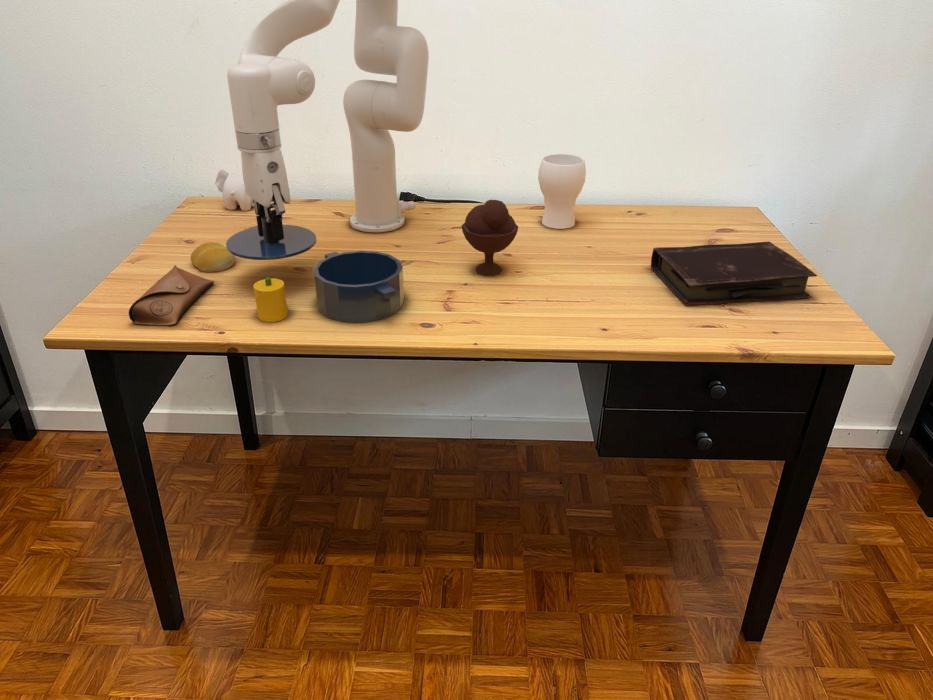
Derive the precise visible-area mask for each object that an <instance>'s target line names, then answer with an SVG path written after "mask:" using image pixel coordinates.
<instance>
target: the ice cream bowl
mask: <svg viewBox="0 0 933 700" xmlns="http://www.w3.org/2000/svg"><path fill="white" fill-rule="evenodd" d="M509 212H510V211H509V210H508V206H507V205H506V204H505V203H504V202H503V201H502V200H498V199H489V200H487V201H485V202H484V203H483V204H479V205H476V206H474V207H473V208H472V209H471V210H470V211H469V212H468V213H467V215H466V216H465V220H464V222H463V224H462V225H461V230H462V234H463V236H464V239H465V240H466V241H467V242H468V244H470V246H471V247H472V248H473V249H474V250H476V251H478V252H480V253H483V254H484V261H483V262H481V263H479V264H478V265H476V266H475V269H474V271H475V272H476V274H477V275H480V276H483V277H496V276H499V275H501V274H502V272H503V271H504V270H503V268H502V267H501V265H500V264H499V263H496V262H494V256H495V254H496V253H500V252H502V251H503V250H504V251H505V249H506V248H508V247H509V246H510V245H511V244H512V242H513V241H514V240H515V238H516V236H517V233H518V231H519V226H518V225H517V223H516V221H515V219H514V217H513V216H512V215H510V213H509Z"/></svg>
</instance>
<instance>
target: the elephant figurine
mask: <svg viewBox="0 0 933 700" xmlns="http://www.w3.org/2000/svg"><path fill="white" fill-rule="evenodd" d="M214 185H215V186H216V188H217V190H218V191H219V192H220V193H222V200H223V203H224V206H225V207H226V209H227V210H230V211H231V210H237V208H238V207H237V206H239V207H240V210H241V211H244V212H245V211H246V212H247V211H251V209H252V207H253V208H254V203H253V199H252V198H250V197H249V196H248V195H247V193H246V190H245V185H244V179H243V174H241V173H240V174H239V173H231V174H230V173H229V172H228V171H226V170H224V169H219V170H218V172H217V175H216V178H215V182H214Z"/></svg>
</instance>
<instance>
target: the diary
mask: <svg viewBox="0 0 933 700" xmlns="http://www.w3.org/2000/svg"><path fill="white" fill-rule="evenodd" d="M650 269H651V270H652V271H653V272H654V273H655V274H656V275H657V276H658V278H660V280H661V281H662V282H663V283H664V285H666V286H667V287H668V288H669V289H670V291H672V293H674V295H675V296H676V297H678V299H679V300H680V301H682V302H683V303H685V304H689V305H709V304H711V305H712V304H715V305H716V304H725V303H727V304H728V303H734V302H744V301H762V302H763V301H764V302H765V301H766V302H779V301H789V300H797V299H805V298H806V299H807V298H811V297H812V295H811V294H810V293H808V292H806V288H807V284H808V280H809V278H812V277H813V278H814V277H817V276H818V275H817V273H815V272H814V271H812V270H811V269H810V268H808V266H807V265H805V264H804V263H802V262H801V261H799V260H798V259H797V258H795V257H794V256H793V255H791V254H790V253H788V252H786V250H783V249H782V248H780V247H778V245H775V244H774V243H772V242H771V241H757V242H746V243H745V242H744V243H725V244H724V243H722V244H719V243H718V244H703V245H691V246H668V247H667V246H665V247H663V246H661V247H653V248H652V252H651V258H650Z"/></svg>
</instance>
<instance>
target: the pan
mask: <svg viewBox="0 0 933 700" xmlns="http://www.w3.org/2000/svg"><path fill="white" fill-rule="evenodd" d="M312 270H313V279H314V287H315V288H314V289H315V297H316V304H317V308H318V311H320V312H319V313H321V314H322V316H325V317H327V318H328V319H331V320H333V321H337V322H342V323H354V324H355V323H356V324H357V323H369V322H375V321H380V320H383V319H386V318H388V317H390V316H393V315H394V314H396V313H397V312H398V311H400V310H401V309H402V307H403V304H404V300H405V291H404V267H403V264H402V263H401V260H400V259H398V258H397V257H395V256H394V255H391V254H389V253H385V252H380V251H373V250H354V251H353V250H351V251H343V252H337V251H333V252H329V253H325V254H324V258H323V259H321V260H319V261H318V262H317V263H316V265H315V266H314V267H313V268H312Z"/></svg>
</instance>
